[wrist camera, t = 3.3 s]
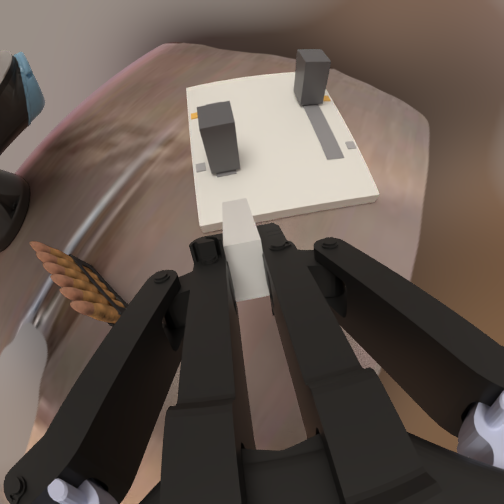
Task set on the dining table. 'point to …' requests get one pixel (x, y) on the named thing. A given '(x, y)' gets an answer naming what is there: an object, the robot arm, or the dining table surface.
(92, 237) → the dining table surface
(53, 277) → the ammunition clip
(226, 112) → the block
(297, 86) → the block
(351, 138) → the switch panel
